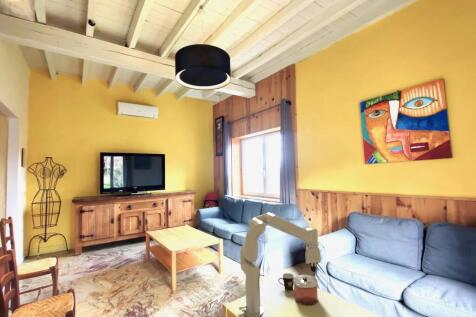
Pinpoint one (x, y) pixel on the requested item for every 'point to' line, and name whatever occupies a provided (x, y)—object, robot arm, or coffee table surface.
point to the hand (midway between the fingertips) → (313, 271)
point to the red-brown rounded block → (306, 295)
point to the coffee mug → (288, 281)
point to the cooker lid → (305, 281)
